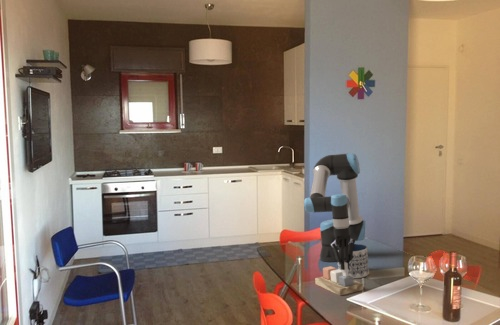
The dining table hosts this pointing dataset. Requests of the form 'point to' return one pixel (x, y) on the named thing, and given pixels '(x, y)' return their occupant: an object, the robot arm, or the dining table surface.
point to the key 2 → (346, 281)
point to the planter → (358, 262)
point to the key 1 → (328, 272)
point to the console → (338, 286)
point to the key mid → (335, 275)
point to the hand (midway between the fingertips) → (345, 275)
